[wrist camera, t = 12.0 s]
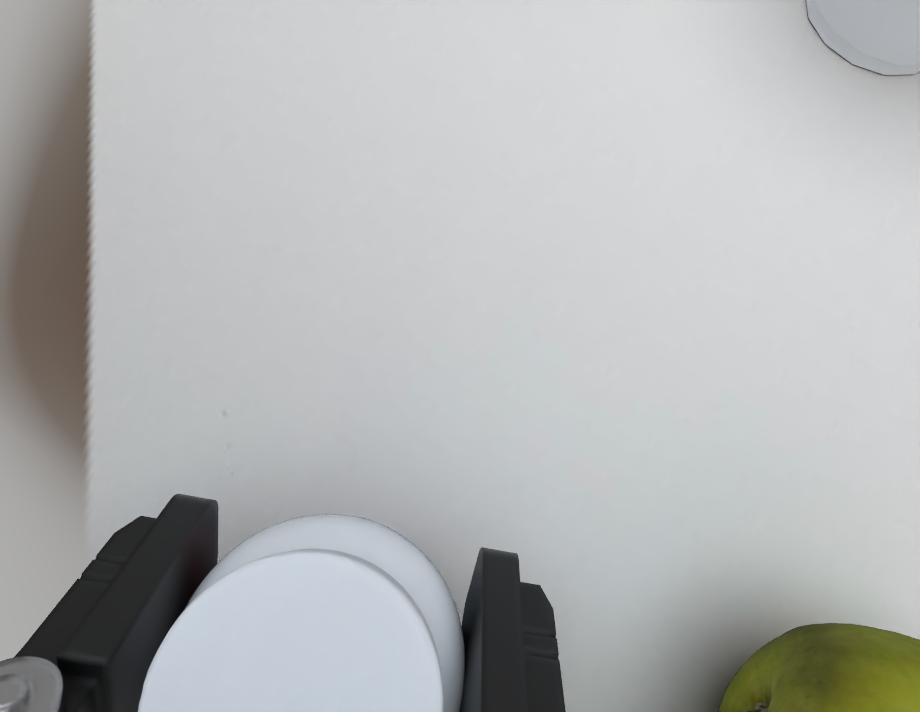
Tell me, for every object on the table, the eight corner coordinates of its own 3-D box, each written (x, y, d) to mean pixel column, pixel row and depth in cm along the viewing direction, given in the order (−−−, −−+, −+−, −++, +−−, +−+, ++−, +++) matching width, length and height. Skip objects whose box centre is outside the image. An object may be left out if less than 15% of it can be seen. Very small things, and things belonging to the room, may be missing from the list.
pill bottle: (278, 509, 17) (165, 462, 9) (458, 545, 17) (519, 534, 9) (219, 719, 15) (4, 918, 7) (419, 757, 15) (450, 996, 7)
